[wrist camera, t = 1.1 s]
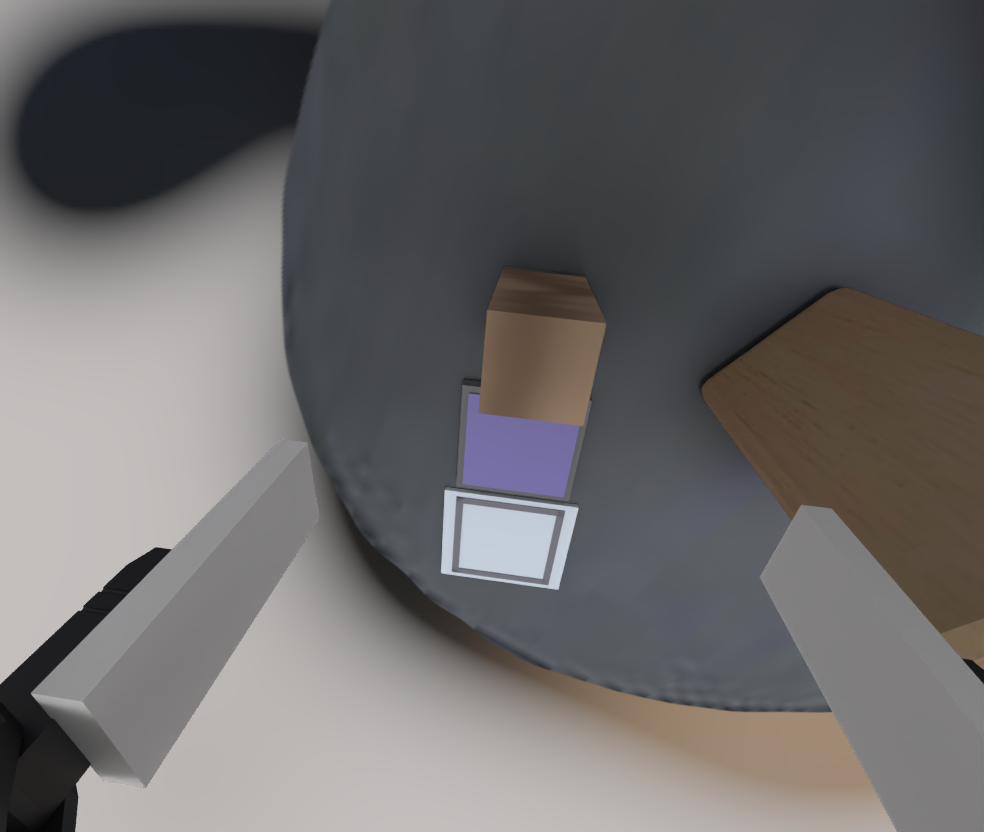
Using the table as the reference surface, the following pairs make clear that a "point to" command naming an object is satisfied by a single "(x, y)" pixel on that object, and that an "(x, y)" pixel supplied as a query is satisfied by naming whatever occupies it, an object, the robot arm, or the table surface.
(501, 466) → the ink pad
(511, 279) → the stamp
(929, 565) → the wooden block
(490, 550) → the print card
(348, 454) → the table surface
